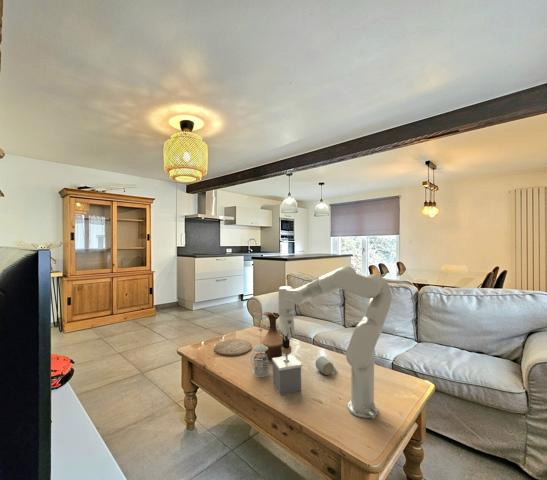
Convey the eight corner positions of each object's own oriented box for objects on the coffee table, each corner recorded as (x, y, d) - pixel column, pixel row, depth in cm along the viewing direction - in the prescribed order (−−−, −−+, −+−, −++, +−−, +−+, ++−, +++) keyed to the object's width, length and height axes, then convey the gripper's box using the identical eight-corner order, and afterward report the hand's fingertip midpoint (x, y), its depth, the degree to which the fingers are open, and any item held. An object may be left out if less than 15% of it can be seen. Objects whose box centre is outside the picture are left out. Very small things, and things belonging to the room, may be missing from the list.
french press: (273, 372, 160) (273, 328, 159) (258, 380, 151) (258, 333, 150) (261, 366, 166) (260, 324, 166) (246, 374, 158) (245, 329, 157)
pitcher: (289, 352, 186) (289, 309, 185) (284, 363, 170) (284, 317, 169) (264, 349, 191) (263, 307, 190) (256, 360, 174) (255, 315, 173)
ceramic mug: (323, 377, 154) (323, 363, 153) (315, 370, 161) (315, 357, 161) (339, 373, 158) (339, 359, 158) (330, 367, 165) (330, 354, 165)
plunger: (293, 383, 143) (292, 348, 142) (283, 385, 141) (283, 349, 141) (289, 379, 148) (289, 344, 147) (280, 380, 146) (280, 346, 145)
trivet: (206, 351, 190) (206, 348, 190) (232, 339, 211) (232, 336, 211) (234, 360, 176) (234, 357, 176) (259, 346, 196) (259, 343, 196)
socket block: (301, 390, 141) (301, 364, 140) (279, 395, 137) (279, 368, 137) (290, 375, 156) (289, 351, 155) (269, 379, 152) (269, 354, 152)
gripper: (298, 314, 137) (298, 352, 138) (287, 306, 152) (287, 340, 152) (284, 316, 135) (284, 354, 136) (274, 308, 149) (274, 342, 150)
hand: (286, 347), depth 144 cm, fingers closed
